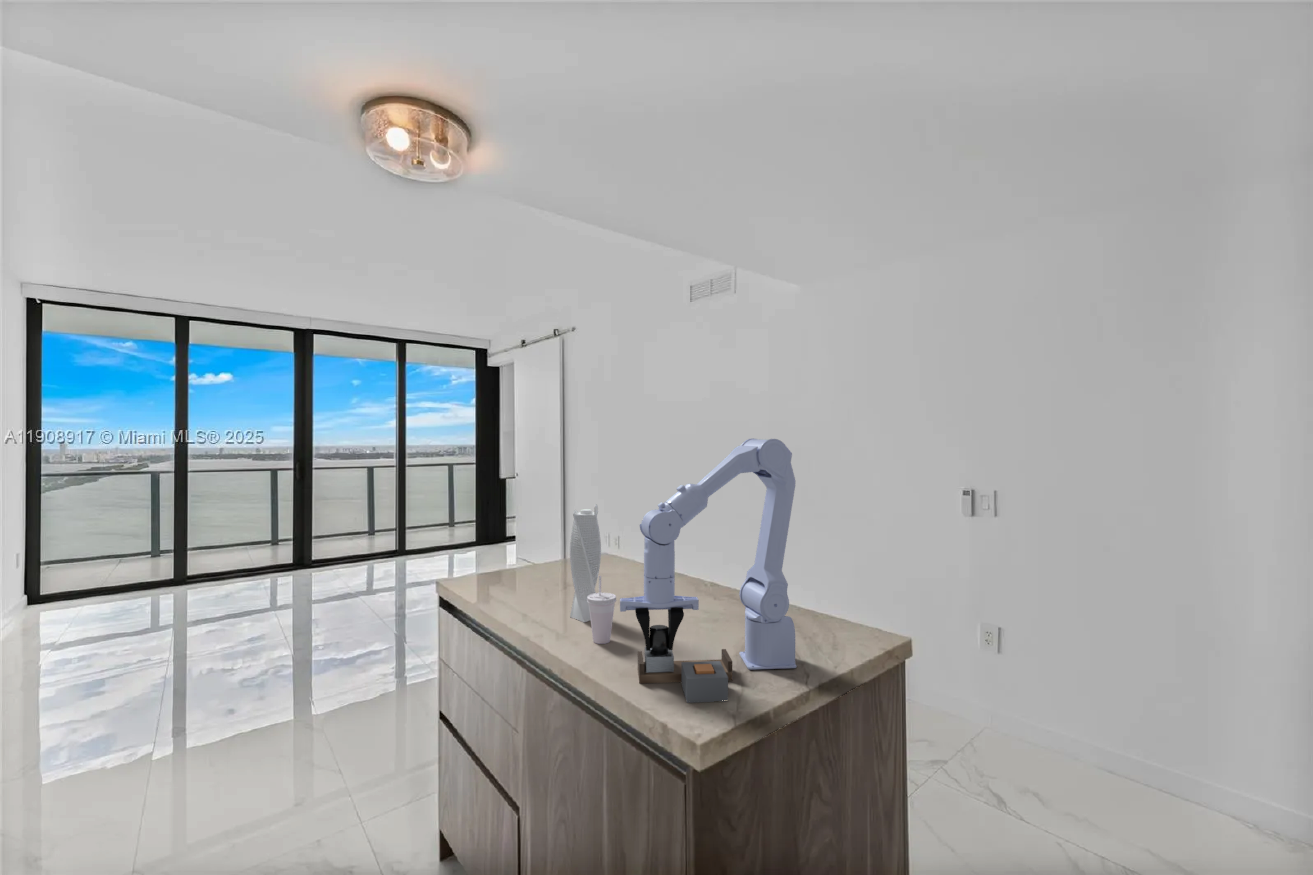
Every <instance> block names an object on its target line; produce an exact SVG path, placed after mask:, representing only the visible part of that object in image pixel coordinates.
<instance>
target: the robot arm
mask: <svg viewBox="0 0 1313 875" xmlns="http://www.w3.org/2000/svg"><path fill="white" fill-rule="evenodd" d="M792 457H793V453H792V452H791V450H790V449H789V447H787V445H786V444H785V443H784V442H783V441H781V440H780V439H777V438H770V439H766V438H765V439H763V438H762V439H761V438H759V439H758V438H748V439H746V440H745V441H743V442H742V443H741V444H740V445H738V446H736V447H734V448H733V450H731V452H730V453H729V454H728V455H727V456H726V457H725V458H723V459H722V461H720V462H719V463H718V464H717V465H716V466H714V468H713V469H711V470H710V471H709V473H706V475H705V476H703V478H702V479H700V480H699V482H697V483H686V484H685V485H684V484H680V485H679V486H677V487H676V491H677V492H675V493H674V494H673V495H671V496H669V498H668V499H667V500H666V501H664V502H662V501H660V503H658V504H657V506H658V509H651V510H649V511H648V512H646V513H645V514H644V515H643V518H642V520H641V522H640V524H639V530H640V532H641V534H642V535H643V537H644V541H643V542H644V550H643V595H641V596H634V597H633V596H632V597H621V598H619V612H626V611H634V612H635V617H636V619H637V621H638V623H639V627H640V629H641V632H642V635H643V639H644V644H645V647H646V651H650V627H651V624H650V623H651V622H650V621H651V618H650V611H651V610H652V611H656V610H657V611H658V610H662V611H663V610H667V618H668V619H667V621H668V626H667V627H668V649H669V650H672V651H673V647H674V643H675V638H676V635H677V633H678V630H679V627H680V625H681V623H682V621H683V619H684V616H685V612H684V610H693V611H698V610H699V609H700V608H699V603H700V602H699V600H700V599H699V598H698V597H697V596H685V595H683V596H682V595H675V594H676V592H675V584H676V583H675V580H676V578H675V577H676V576H675V575H676V574H675V573H676V572H675V570H676V569H675V564H676V562H675V561H676V560H675V559H676V557H675V556H676V554H675V552H676V551H675V541H676V540H677V539H678V538H679V536H680V533H681V529H682V528H684V526H686V525H687V524H688V523H689V522H691V521H692V520H693V519H694V518H695V517H696V516H698V515H699V514H700V513H702V511H704V510H705V509H706V508H707V507H708V503H709V502H708V500H709V497H711V496H712V495H713V494H714V493H716V492H717V491H719V490H720V489H721V488H723V487H724V486H725V485H727V484H728V483H729V482H731V481H732V480H733V479H735V478H737V476H738V475H740V474H746V473H747V474H748V473H753V474H755V475H756V476H757V477H758V478H759V480H760V481H761V482H762V483H763V485H764V486H765V487H766V490H765V491H766V492H765V496H764V501H763V502H764V503H763V510H762V515H761V520H760V528H759V534H758V538H757V539H758V541H757V547H756V551H755V558H754V564H753V565H752V566H751V567H750V568H749V569H748V570H747V571H746V576H745V580H744V581H743V583H742V584H741V586H740V589H739V592H738V593H739V600H740V602H741V604H742V605H743V606H744V608H745V609H744V637H745V638H744V651H739V654H738V655H739V656H740V658H741V660H742V661H743V663H744V664H745V666H746V668H747V669H748V670H774V669H775V670H776V669H779V670H780V669H796V668H797V664H796V630H795V629H796V628H795V624H794V621H793V620H794V619H793V618H792V617H791V616H789V615H786V614H787V613H788V611H789V608H790V599H789V596H788V586H789V584H788V581H787V578H786V577H785V575H784V572H783V564H784V560H785V552H786V547H787V546H786V545H787V541H788V540H787V539H788V534H789V533H788V532H789V527H790V521H791V515H792V508H793V501H794V496H795V491H796V490H795V489H796V477H795V473H794V469H793V465H792Z"/></svg>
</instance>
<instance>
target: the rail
mask: <svg viewBox="0 0 1313 875" xmlns="http://www.w3.org/2000/svg"><path fill="white" fill-rule="evenodd" d="M707 661H720V662H721V664H722V666H723V668H724V670H725V672H726V674H727V676H728V682H729V681H733V660H732V658H731V656H730V654H729V652H728V651H727V649H726V648H722V649H721V659H696V660H694V659H692V660H690V659H688V660H674V672H652V673H646V667H645V661H644V657H643V651H641V650H640V651H637V675H638V683H639V684H661V683H662V684H663V683H664V684H666V683H681V663H682V662H707Z"/></svg>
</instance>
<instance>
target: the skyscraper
mask: <svg viewBox="0 0 1313 875" xmlns="http://www.w3.org/2000/svg"><path fill="white" fill-rule="evenodd" d="M593 509H594V511H593V510H592V509H590V508H585V509H584V508H583V509H580V511H579V512H578V510H577V509H575V510H573V512H572V516H573V521H572V522H573V523H572V528H571V536H570V541H569V542H570V543H569V545H570V546H569V559H570V560H569V562H570V571H571V579H572V582H573V583H572V584H573V589H574V594H573V600H572V604H571V610H570V615H569V617H570V618H571V619H574V618H575V619H574V620H576V619H577V621H580V622H582V623H586V622H591V619H590V611H589V603H588V602H587V596H588V595H590V594H594V593H597V592H596V587H597V583H598V582H597V581H598V579H599V572H600V566H601V561H602V560H601V559H602V558H601V556H602V542H601V533H600V526H599V522H598V521H599V520H598V513H599V507H598V504H596V503H595V504H594V508H593Z"/></svg>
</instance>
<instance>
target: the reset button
mask: <svg viewBox="0 0 1313 875" xmlns="http://www.w3.org/2000/svg"><path fill="white" fill-rule="evenodd" d="M694 672H695V674H714V669H713V667H712V665H711V664H694Z"/></svg>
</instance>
